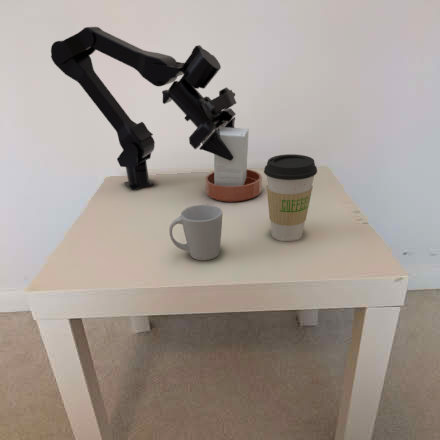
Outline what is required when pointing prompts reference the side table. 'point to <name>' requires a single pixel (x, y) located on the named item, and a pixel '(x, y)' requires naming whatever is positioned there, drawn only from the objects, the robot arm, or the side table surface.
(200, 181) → the side table surface
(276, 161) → the coffee cup
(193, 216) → the cup
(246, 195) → the bowl
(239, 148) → the white packaging box
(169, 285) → the side table surface
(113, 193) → the side table surface
